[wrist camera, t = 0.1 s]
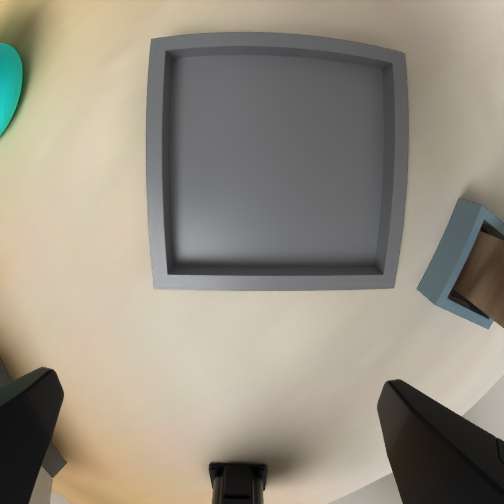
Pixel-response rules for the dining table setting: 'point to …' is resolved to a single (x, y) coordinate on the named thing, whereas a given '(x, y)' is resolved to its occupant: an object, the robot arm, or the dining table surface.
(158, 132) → the tray
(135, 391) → the dining table surface
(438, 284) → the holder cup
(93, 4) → the dining table surface
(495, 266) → the brown rectangular block
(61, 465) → the alarm clock
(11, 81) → the donuts
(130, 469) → the dining table surface
